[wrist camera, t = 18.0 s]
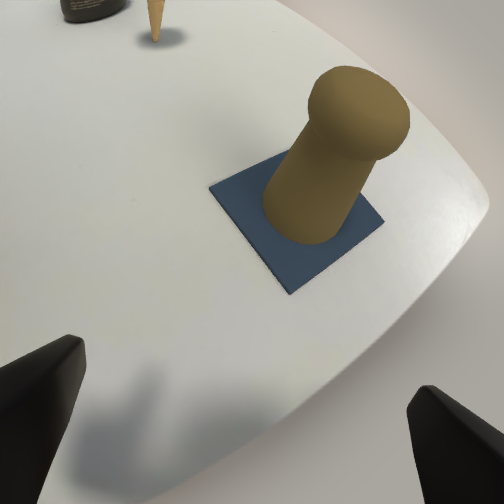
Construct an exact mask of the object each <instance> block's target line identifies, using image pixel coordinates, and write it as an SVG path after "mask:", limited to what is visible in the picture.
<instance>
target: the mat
mask: <svg viewBox="0 0 504 504" xmlns="http://www.w3.org/2000/svg"><path fill="white" fill-rule="evenodd" d="M289 150H290V149H289ZM289 150H287V151H285V152H283V153H280V154H278V155H276V156H274V157H271V158H269V159H267V160H265V161H263V162H261V163H258V164H256V165H254V166H252V167H250V168H248V169H246V170H243V171H241V172H239V173H237V174H235V175H233V176H231V177H229V178H227V179H225V180H223V181H221V182H219V183H217V184H215V185H213V186H211V187H209V190H210V191H211V193H212V194H213V195H214V197H215V198H216V199H217V200H218V202H219V203H220V204H221V206H222V207H223V208H224V210H225V211H226V212H227V214H228V215H229V216H230V218H231V219H232V220H233V221H234V223H235V224H236V225H237V227H238V228H239V229H240V231H241V232H242V233H243V235H244V236H245V237H246V239H247V240H248V241H249V242H250V244H251V245H252V246H253V248H254V249H255V250H256V252H257V253H258V254H259V256H260V257H261V258H262V260H263V261H264V262H265V263H266V265H267V266H268V267H269V269H270V270H271V271H272V273H273V274H274V275H275V277H276V278H277V279H278V281H279V282H280V283H281V285H282V286H283V287H284V288H285V290H286V291H287V292H288V294H289V295H290V294H292V293H293V292H294V291H296V290H297V289H299V288H300V287H301V286H303V285H304V284H305V283H307V282H308V281H309V280H311V279H312V278H313V277H315V276H316V275H317V274H319V273H320V272H321V271H323V270H324V269H325V268H327V267H328V266H329V265H331V264H332V263H333V262H335V261H336V260H337V259H339V258H340V257H341V256H343V255H344V254H345V253H346V252H348V251H349V250H350V249H352V248H353V247H354V246H355V245H357V244H358V243H359V242H361V241H362V240H363V239H364V238H366V237H367V236H368V235H369V234H371V233H372V232H373V231H375V230H376V229H377V228H378V227H380V226H381V225H382V224H383V223H384V222H385V221H384V220H383V219H382V218H381V216H380V215H379V214H378V213H377V211H376V210H375V209H374V208H373V207H372V206H371V204H370V203H369V202H368V201H367V200H366V198H365V197H364V196H363V195H362V194H361V193H359V195H358V197H357V199H356V200H355V202H354V204H353V206H352V208H351V210H350V212H349V213H348V215H347V217H346V219H345V221H344V222H343V224H342V226H341V228H340V229H339V231H338V232H337V234H336V235H335V236H334V237H333V238H331V239H330V240H328V241H326V242H324V243H320V244H315V245H309V244H299V243H297V242H295V241H292V240H290V239H287V238H285V237H284V236H283V235H282V234H280V233H279V232H278V231H276V230H275V229H274V227H273V226H272V225H271V223H270V222H269V221H268V219H267V218H266V215H265V212H264V209H263V206H262V201H263V192H264V190H265V188H266V185H267V184H268V182H269V180H270V179H271V177H272V176H273V174H274V173H275V171H276V170H277V168H278V167H279V165H280V164H281V162H282V161H283V159H284V158H285V156H286V155H287V153H288V151H289Z"/></svg>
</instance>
